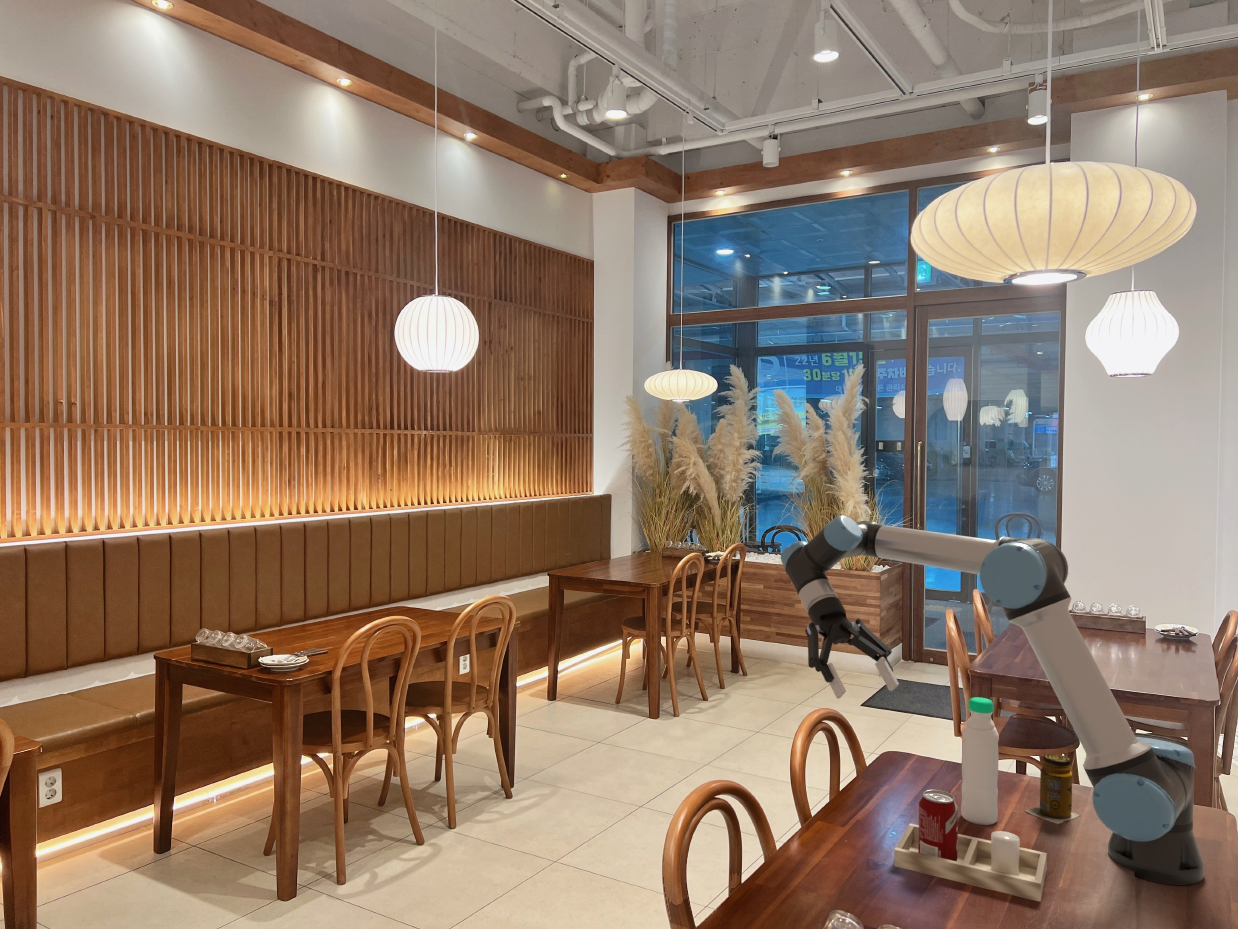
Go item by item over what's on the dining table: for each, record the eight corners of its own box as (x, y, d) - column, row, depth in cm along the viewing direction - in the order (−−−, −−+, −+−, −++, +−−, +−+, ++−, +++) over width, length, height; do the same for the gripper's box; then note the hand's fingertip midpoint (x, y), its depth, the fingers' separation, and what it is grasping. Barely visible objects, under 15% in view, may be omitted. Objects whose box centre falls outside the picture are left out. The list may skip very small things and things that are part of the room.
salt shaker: (1020, 873, 155) (1020, 835, 155) (1017, 884, 151) (1018, 844, 151) (992, 867, 158) (993, 829, 158) (989, 878, 154) (989, 838, 154)
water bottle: (1004, 821, 180) (1006, 701, 180) (984, 829, 176) (986, 706, 176) (973, 809, 186) (975, 693, 185) (953, 816, 182) (955, 698, 182)
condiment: (1080, 815, 183) (1081, 759, 183) (1058, 825, 179) (1059, 767, 178) (1047, 803, 189) (1048, 749, 189) (1024, 812, 185) (1025, 756, 184)
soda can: (937, 872, 156) (938, 805, 156) (910, 855, 162) (911, 791, 162) (965, 864, 159) (966, 799, 158) (937, 849, 165) (938, 786, 165)
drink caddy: (1046, 875, 157) (1046, 853, 157) (1040, 907, 146) (1040, 883, 146) (909, 843, 169) (909, 823, 169) (894, 871, 158) (894, 849, 158)
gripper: (859, 611, 197) (906, 694, 184) (767, 619, 187) (810, 707, 173) (876, 591, 192) (925, 675, 179) (782, 598, 182) (827, 688, 168)
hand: (868, 691), depth 176 cm, fingers open, 13 cm apart
